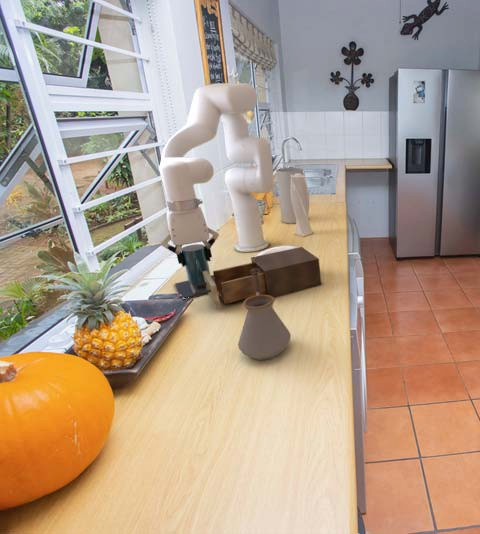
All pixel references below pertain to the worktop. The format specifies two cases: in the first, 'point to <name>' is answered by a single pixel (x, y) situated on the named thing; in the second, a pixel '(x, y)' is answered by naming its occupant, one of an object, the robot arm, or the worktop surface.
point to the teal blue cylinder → (195, 262)
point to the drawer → (231, 284)
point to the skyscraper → (300, 203)
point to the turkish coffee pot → (262, 327)
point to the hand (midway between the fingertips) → (196, 262)
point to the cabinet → (288, 271)
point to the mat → (186, 290)
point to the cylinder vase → (286, 193)
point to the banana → (275, 250)
